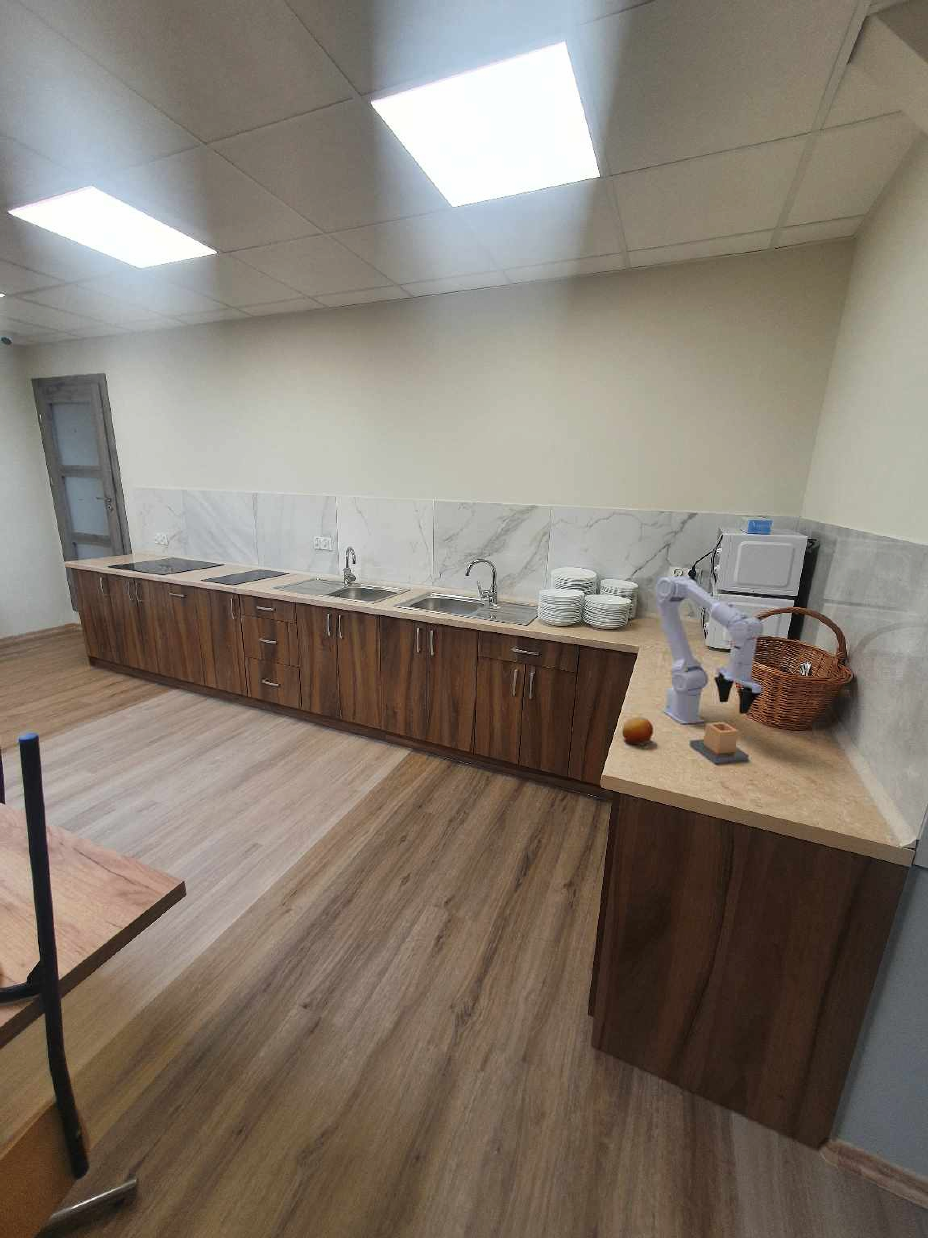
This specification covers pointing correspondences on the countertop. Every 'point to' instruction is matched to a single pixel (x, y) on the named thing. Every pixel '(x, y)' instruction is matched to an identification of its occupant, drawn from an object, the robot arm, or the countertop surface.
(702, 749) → the post base
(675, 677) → the robot arm
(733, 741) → the collar
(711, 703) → the countertop surface
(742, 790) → the countertop surface
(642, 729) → the fruit
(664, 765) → the countertop surface
